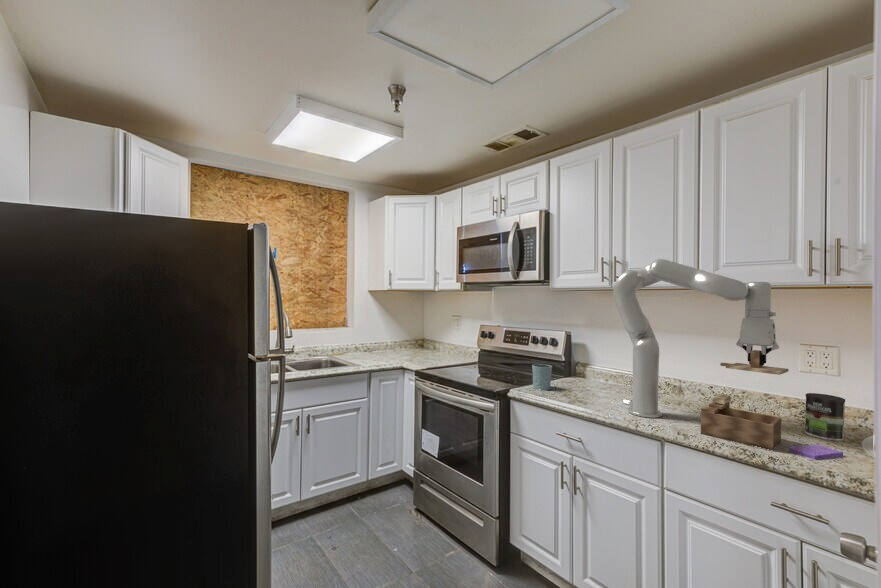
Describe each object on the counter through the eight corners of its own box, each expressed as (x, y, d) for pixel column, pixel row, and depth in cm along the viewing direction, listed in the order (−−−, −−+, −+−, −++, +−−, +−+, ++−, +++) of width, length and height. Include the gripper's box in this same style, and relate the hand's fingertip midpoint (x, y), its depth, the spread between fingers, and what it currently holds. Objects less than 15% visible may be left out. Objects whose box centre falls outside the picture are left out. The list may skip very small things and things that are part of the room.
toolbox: (700, 433, 143) (701, 408, 143) (716, 423, 156) (717, 399, 156) (772, 450, 128) (773, 422, 128) (783, 437, 141) (784, 411, 141)
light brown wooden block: (713, 402, 151) (713, 397, 151) (719, 399, 156) (719, 394, 156) (724, 404, 148) (724, 399, 148) (730, 401, 153) (730, 395, 153)
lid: (715, 366, 154) (715, 348, 154) (727, 364, 163) (727, 346, 163) (779, 374, 139) (779, 354, 139) (788, 371, 148) (788, 352, 148)
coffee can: (835, 442, 137) (836, 401, 137) (798, 433, 146) (799, 394, 146) (850, 439, 141) (851, 398, 141) (813, 429, 151) (814, 392, 151)
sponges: (843, 458, 125) (843, 451, 125) (814, 461, 122) (814, 455, 122) (817, 449, 132) (817, 443, 132) (788, 452, 128) (788, 446, 129)
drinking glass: (530, 389, 206) (531, 366, 206) (532, 385, 216) (532, 363, 216) (551, 391, 203) (552, 367, 203) (552, 387, 213) (552, 364, 213)
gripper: (788, 315, 146) (787, 366, 146) (734, 313, 159) (733, 360, 158) (783, 316, 141) (782, 368, 141) (728, 314, 154) (727, 362, 154)
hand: (756, 363), depth 150 cm, fingers closed on lid, 2 cm apart
